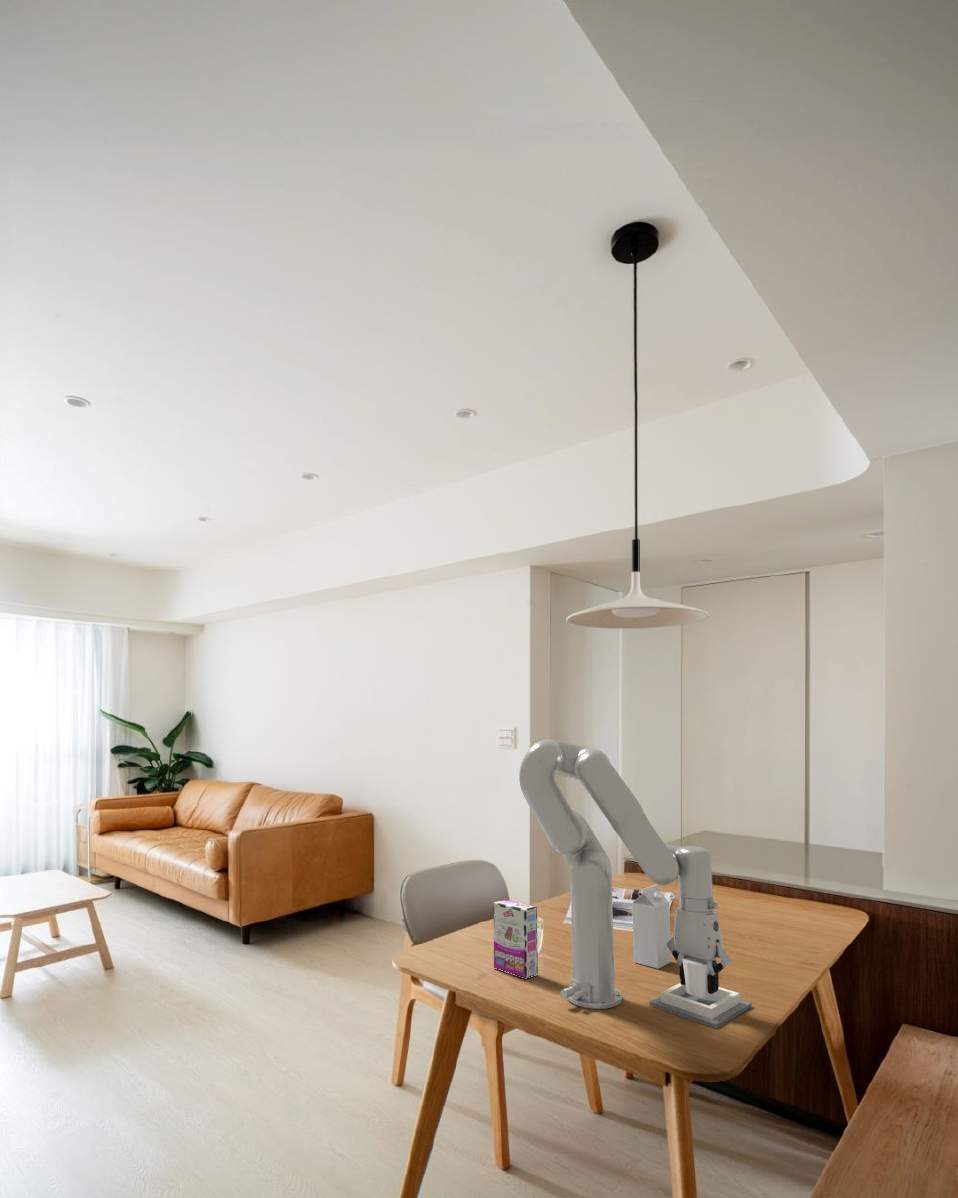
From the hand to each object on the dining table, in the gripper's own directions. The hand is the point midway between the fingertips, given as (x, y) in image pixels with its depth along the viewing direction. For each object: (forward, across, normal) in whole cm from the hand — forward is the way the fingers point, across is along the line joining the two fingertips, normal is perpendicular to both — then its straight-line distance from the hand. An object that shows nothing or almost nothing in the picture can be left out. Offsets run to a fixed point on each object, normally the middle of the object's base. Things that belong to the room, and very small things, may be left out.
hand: (699, 987), depth 161 cm
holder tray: (+4, 0, 0) cm, 4 cm away
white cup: (+1, 0, 0) cm, 1 cm away
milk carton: (+4, +23, -16) cm, 28 cm away
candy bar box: (+4, +43, +15) cm, 46 cm away
